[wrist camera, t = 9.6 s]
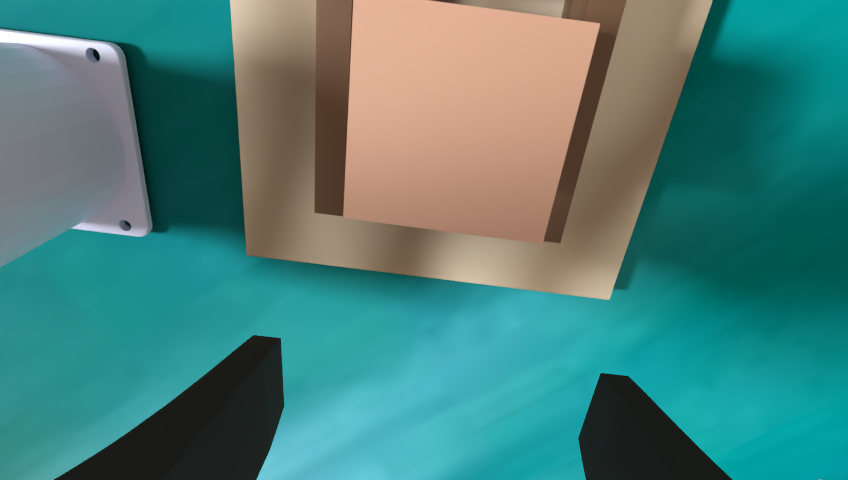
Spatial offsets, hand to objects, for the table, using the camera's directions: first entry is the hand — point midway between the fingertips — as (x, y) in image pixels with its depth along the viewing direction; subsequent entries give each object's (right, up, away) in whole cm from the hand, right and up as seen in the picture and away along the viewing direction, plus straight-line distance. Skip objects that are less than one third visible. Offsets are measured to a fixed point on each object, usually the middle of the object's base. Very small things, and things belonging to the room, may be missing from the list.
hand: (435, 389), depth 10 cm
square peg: (+1, +9, +6) cm, 11 cm away
